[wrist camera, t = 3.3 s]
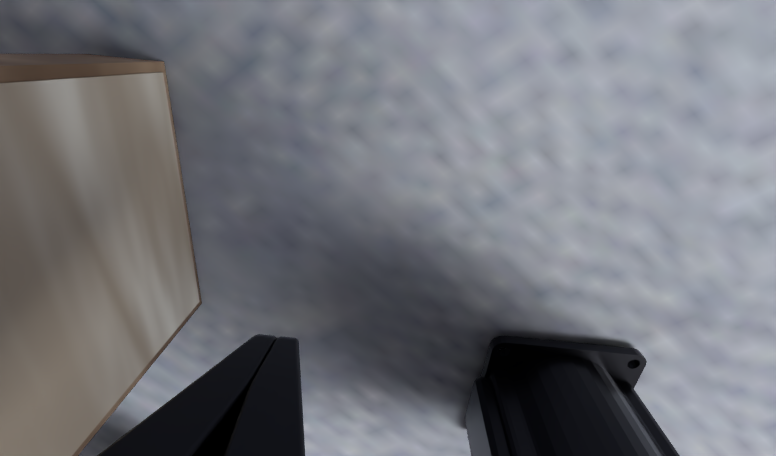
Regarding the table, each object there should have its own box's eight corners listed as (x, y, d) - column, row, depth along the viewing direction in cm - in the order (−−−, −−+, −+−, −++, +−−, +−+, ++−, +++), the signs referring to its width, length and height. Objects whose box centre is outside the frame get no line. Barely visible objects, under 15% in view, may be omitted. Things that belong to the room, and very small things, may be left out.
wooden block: (167, 62, 12) (-359, 76, 4) (204, 303, 16) (-7, 564, 8) (84, 53, 12) (-630, 50, 4) (142, 297, 16) (-134, 552, 8)
